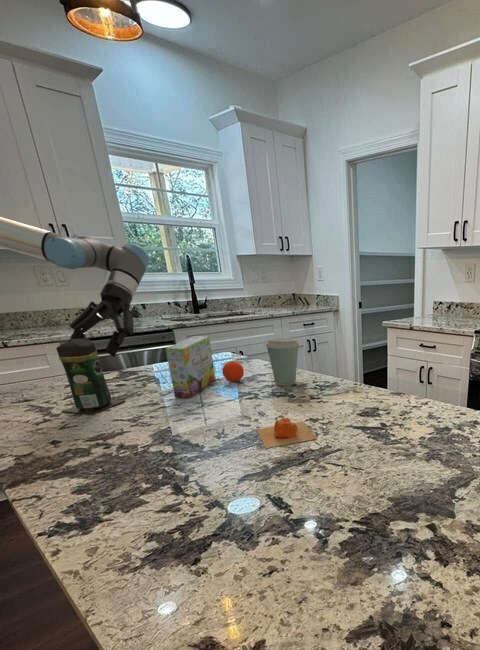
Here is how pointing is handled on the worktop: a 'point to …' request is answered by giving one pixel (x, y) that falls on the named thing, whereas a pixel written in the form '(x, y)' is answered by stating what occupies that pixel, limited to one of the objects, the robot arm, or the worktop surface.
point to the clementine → (233, 371)
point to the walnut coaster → (93, 411)
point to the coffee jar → (84, 374)
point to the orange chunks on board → (285, 433)
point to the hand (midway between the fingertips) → (90, 352)
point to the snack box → (190, 365)
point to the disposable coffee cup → (283, 359)
